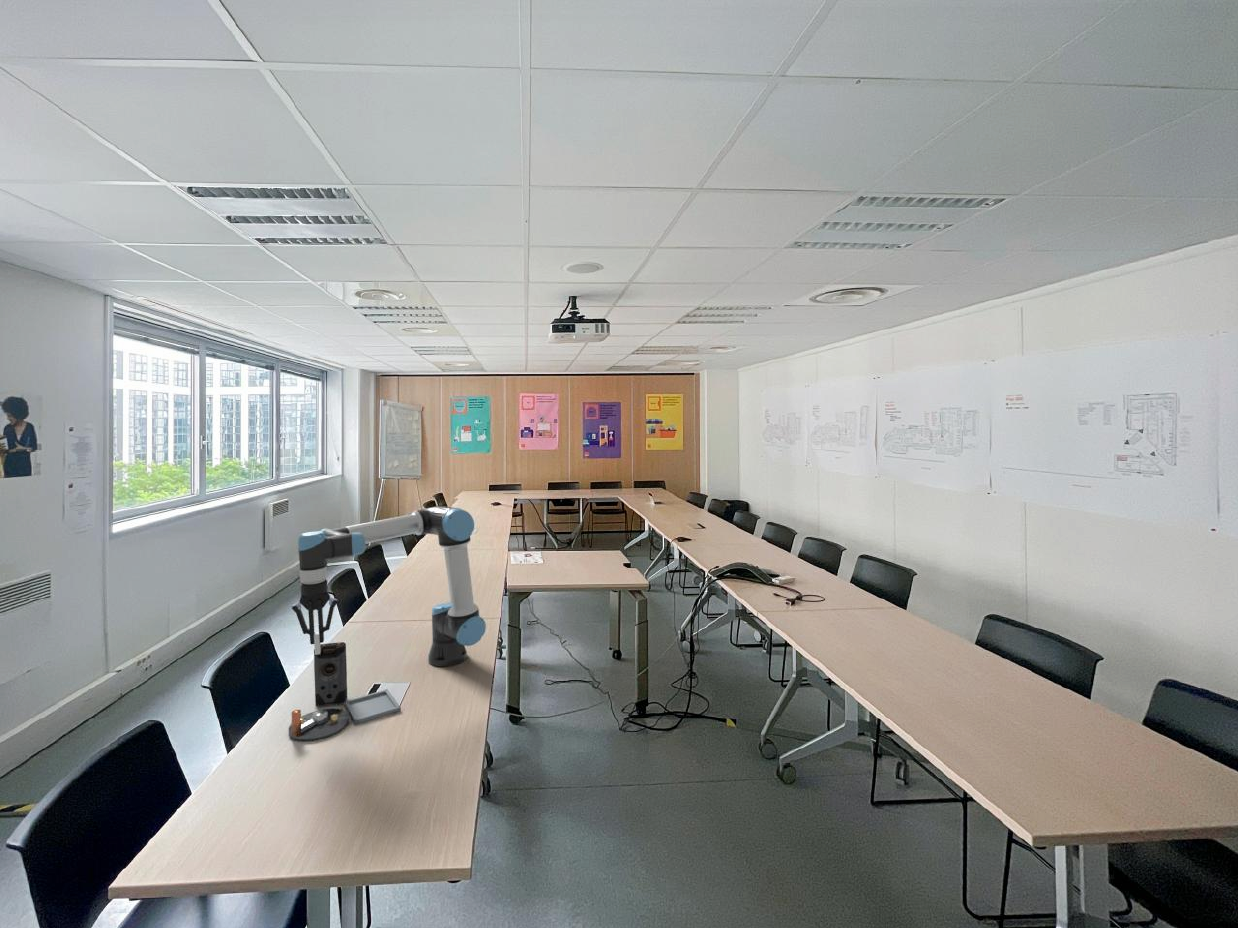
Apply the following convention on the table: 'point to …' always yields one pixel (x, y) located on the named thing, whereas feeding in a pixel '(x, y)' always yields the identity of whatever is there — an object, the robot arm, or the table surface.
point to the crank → (316, 719)
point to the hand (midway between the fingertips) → (317, 652)
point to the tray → (372, 706)
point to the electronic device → (330, 675)
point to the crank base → (323, 726)
